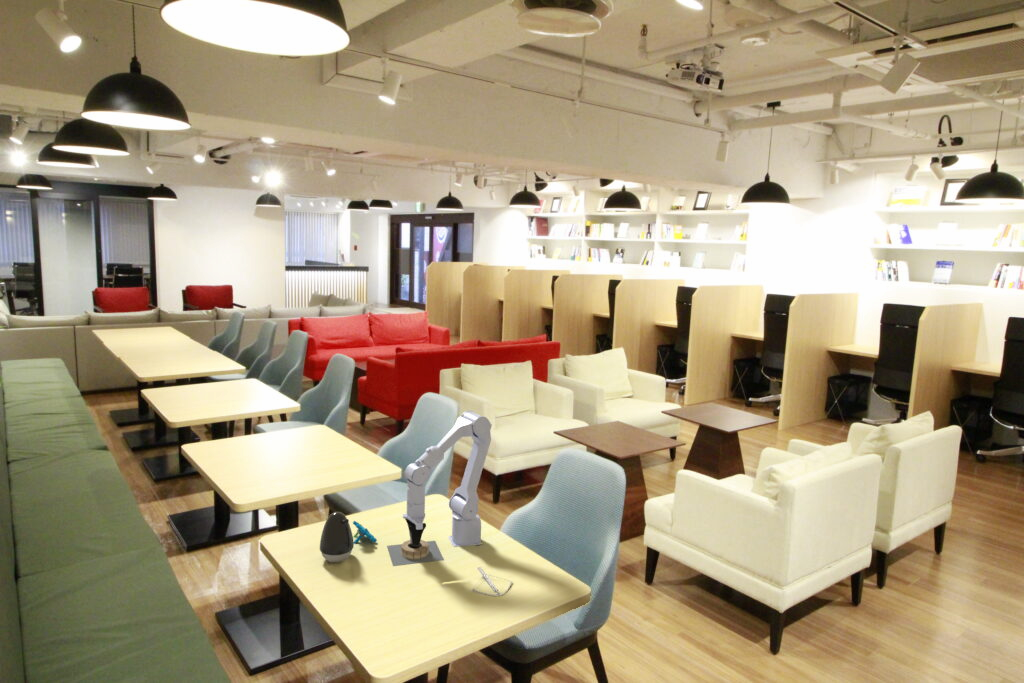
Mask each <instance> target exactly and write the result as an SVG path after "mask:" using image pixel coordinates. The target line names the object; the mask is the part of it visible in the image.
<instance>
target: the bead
mask: <svg viewBox="0 0 1024 683" xmlns="http://www.w3.org/2000/svg"><path fill="white" fill-rule="evenodd" d="M401 544H402V545H401V554H402V556H403V557H405V558H408V559H420V558H423V557H425V556H427V555H428V553H429V545H428V543H427V541H426V540H424V539H421V541H420V548H416V549H413V548H410V539H409V540H405V541H403V542H402V543H401Z"/></svg>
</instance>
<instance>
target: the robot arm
mask: <svg viewBox="0 0 1024 683" xmlns="http://www.w3.org/2000/svg"><path fill="white" fill-rule="evenodd" d="M492 425H493V424H492V423H491V422H490V420H489V419H488V418H487V416H484V415H480V414H478V413H476V412H474V411H473V410H466V411H464V412H462V414H461V415H460V416H459V417H457V419H456V422H455V423H454V425H453V426H452V427H451V429H450V430H448V432H447V433H446V434H445V435H444V436H443V438H441V440H440V441H439V442H438V443H437V445H431V446H430V447H427V448H426V449H425V451H424V453H423V454H421V455H420V457H418V459H416V460H415V461H414V462H413V463H410V464H408V465H407V466H406V468H405V471H403V475H404V478H405V479H406V513H404V514H402V518H403V519H404V520H405V522H406V524H407V526H408V532H409V534H410V532H411V538H412V543H413V545H418V544H420V541H421V540H422V536H423V533H424V531H425V529H426V527H427V524H426V522H424V520H425V518H426V512H425V511H426V510H425V509H426V508H425V507H426V483H427V482H428V481H429V478H430V475H431V473H432V471H433V470H434V469H436V467H437V466H438V465H439V464H440V463H442V461H443V460H444V457H445V453H446V452H447V451H448V450H450V448H452V447H453V446H454V445H455V444H456V443H457V442H458V441H460V440H461V439H462V438H463V437H464V438H465V437H466V438H467V437H468V438H469V437H470V438H471V439H472V441H473V442H472V447H471V449H470V453H469V457H468V460H467V463H466V466H465V470H464V474H463V477H462V480H461V483H460V486H458V487H457V488H455V489H454V492H453V495H451V497H450V498H449V501H448V506H449V509H450V510H451V513H452V514H451V515H452V518H451V519H452V520H451V523H452V525H451V535H449V536H448V540H449V541H450V543H451V545H452V546H453V547H454V548H456V547H457V548H458V547H467V546H481V545H482V538H481V537H482V520H481V517H480V515H479V514H478V512H479V501H480V499H479V495H478V492H477V489H478V487H479V482H480V480H481V476H482V474H483V473H482V471H483V469H484V467H485V466H484V465H485V462H486V458H487V456H488V452H489V449H490V445H491V441H492V437H491V435H492V434H491V430H492Z"/></svg>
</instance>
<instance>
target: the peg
mask: <svg viewBox="0 0 1024 683" xmlns="http://www.w3.org/2000/svg"><path fill="white" fill-rule="evenodd" d="M409 540H410V548H413V549H416V548H420V544H418V545H413V543H412V538H411V532H410V533H409Z"/></svg>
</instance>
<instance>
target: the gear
mask: <svg viewBox="0 0 1024 683" xmlns="http://www.w3.org/2000/svg"><path fill="white" fill-rule="evenodd" d="M352 524H353V525H354V526H355V528H357V529H356V533H355V534H354V535H352V536H353V538H356V537H357V538H356V539H355V540H353V543H354V545H355V544H358V543H359V541H360V540H361V539H362V538H364V537H366V538H368V539H369V540H370V541H372V542H373V543H376V542H377V541H378V539H377V538H376V537H375V536H374V535H373V534H372V533H370V531H369V530H368V529H367V528H366V527H364V526H363V525H362V524H361V523H359V522H357V521H356V520H353V522H352ZM358 535H359V536H358Z"/></svg>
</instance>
